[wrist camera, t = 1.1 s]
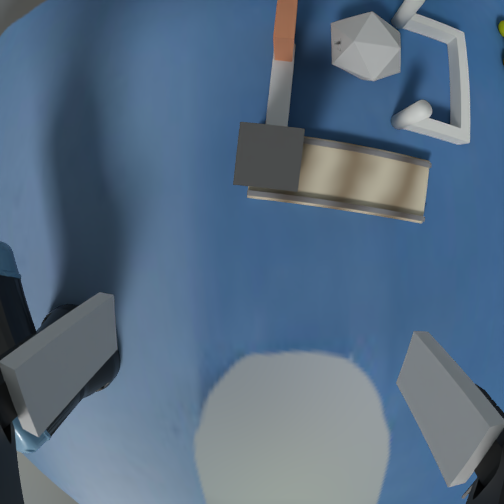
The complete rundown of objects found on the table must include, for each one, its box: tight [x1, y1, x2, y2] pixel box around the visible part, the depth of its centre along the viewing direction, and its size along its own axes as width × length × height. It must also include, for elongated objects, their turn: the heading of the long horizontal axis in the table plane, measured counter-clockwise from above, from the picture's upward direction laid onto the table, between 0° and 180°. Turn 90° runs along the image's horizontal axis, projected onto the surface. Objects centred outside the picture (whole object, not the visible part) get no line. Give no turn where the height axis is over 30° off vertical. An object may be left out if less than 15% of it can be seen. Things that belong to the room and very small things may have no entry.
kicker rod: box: [233, 0, 305, 192], centre depth 28 cm, size 5×22×13 cm, turn 174°
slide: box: [247, 136, 431, 223], centre depth 35 cm, size 22×8×2 cm, turn 84°
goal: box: [391, 0, 470, 145], centre depth 28 cm, size 10×18×8 cm, turn 174°
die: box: [331, 12, 401, 81], centre depth 29 cm, size 8×9×10 cm
